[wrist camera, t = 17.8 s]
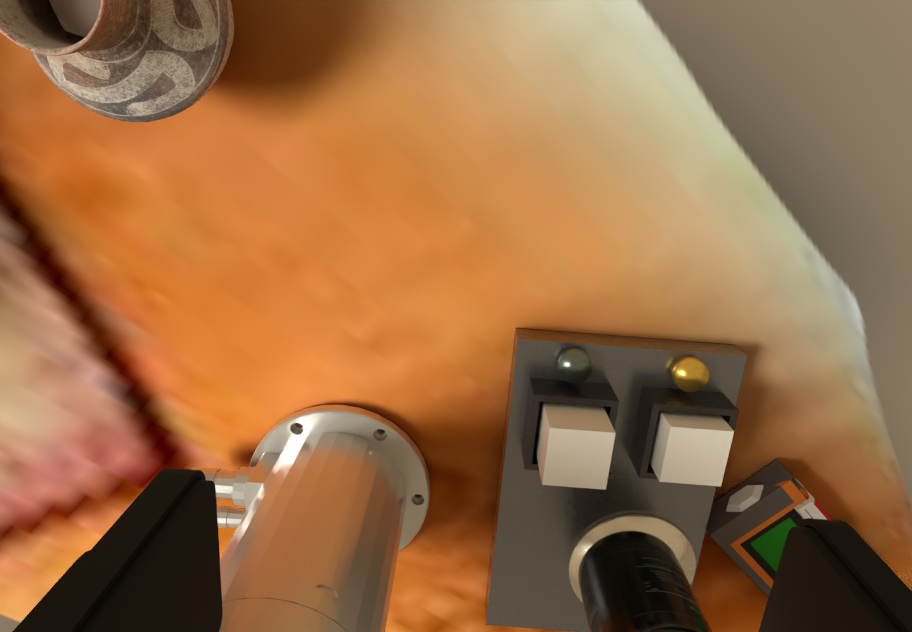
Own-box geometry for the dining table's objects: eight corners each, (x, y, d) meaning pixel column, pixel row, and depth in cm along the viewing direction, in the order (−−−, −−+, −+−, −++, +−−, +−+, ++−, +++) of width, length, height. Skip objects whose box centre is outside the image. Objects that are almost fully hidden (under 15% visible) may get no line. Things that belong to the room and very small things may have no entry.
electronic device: (825, 659, 44) (708, 536, 40) (802, 625, 46) (691, 507, 42) (909, 609, 42) (796, 476, 38) (880, 578, 45) (773, 451, 41)
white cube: (643, 450, 38) (659, 481, 35) (652, 399, 37) (670, 426, 34) (699, 454, 38) (720, 486, 35) (710, 403, 37) (734, 431, 34)
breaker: (535, 452, 37) (542, 484, 34) (542, 399, 36) (549, 428, 33) (593, 456, 37) (605, 489, 34) (602, 404, 36) (615, 432, 33)
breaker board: (485, 603, 45) (486, 652, 41) (515, 328, 38) (521, 353, 34) (670, 617, 45) (691, 668, 41) (733, 344, 38) (766, 371, 34)
